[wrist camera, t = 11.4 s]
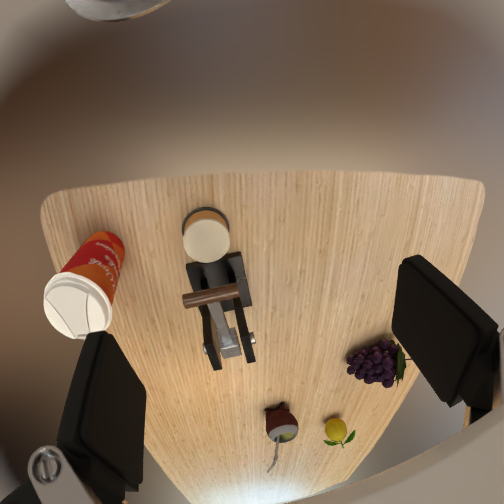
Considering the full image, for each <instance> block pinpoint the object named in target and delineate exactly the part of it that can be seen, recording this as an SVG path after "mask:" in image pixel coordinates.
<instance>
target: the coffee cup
mask: <svg viewBox="0 0 504 504" xmlns="http://www.w3.org/2000/svg"><path fill="white" fill-rule="evenodd" d="M123 259H124V246H123V244H122V242H121V240H120V239H119V238H118V237H117V236H116V235H114V234H113V233H110V232H107V231H100V232H96V233H94V234H93V235H92V236H90V237H89V238H88V240H87V241H86V242H85V243H84V244H83V245H82V246H81V247H80V248H79V250H78V251H77V252H76V253H75V254H74V256H73V257H72V258H71V259H70V260H69V262H68V263H67V264H66V265H65V267H64V268H63V269H62V270H61V272H60V273H59V274H56V275H54V277H53V278H52V279H51V280H50V281H49V282H48V284H47V285H46V287H45V290H44V310H45V313H46V316H47V318H48V320H49V321H50V323H51V324H52V325H53V326H54V327H55V328H56V329H57V330H58V331H59V332H61V333H62V334H64V335H65V336H68V337H70V338H73V339H76V338H79V339H86V336H87V334H88V333H91V332H97V331H102V330H104V331H105V330H106V329H107V328H108V326H109V325H110V323H111V319H112V302H113V298H114V294H115V290H116V286H117V283H118V279H119V275H120V271H121V267H122V263H123Z"/></svg>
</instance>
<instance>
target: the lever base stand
mask: <svg viewBox="0 0 504 504" xmlns="http://www.w3.org/2000/svg"><path fill="white" fill-rule="evenodd" d="M186 270H187V273H188V277H189V280H190V283H191V286H192V289H193V292H197V291H201V290H206V289H210V288H214V287H219V286H223V285H228V284H232V283H237V286H238V290H239V294H240V297H237V298H233V299H229V300H224V301H220V303H221V306H222V309H223V312H226V311H231V310H235V314H236V319H237V324H238V329H239V334H240V338H241V342H242V346H243V349H244V353H245V356H246V360H247V363H252V362H256V360H255V356H254V352H253V348H252V344H255V343H256V342H255V338H254V334H253V332H250V333H249V332H248V327H247V323H246V319H245V315H244V311H243V308H244V307H248V306H252V302H251V298H250V293H249V288H248V284H247V279H246V274H245V270H244V265H243V260H242V255H241V252H237V253H233V254H228V255H224V256H223V257H222V258H220V259H219V260H217V261H214V262H209V263H203V262H199V261H198V262H194V263H189V264H186ZM198 307H199V310H200V313H201V316H202V322H203V337H204V343H203V350H204V353H205V354H208V357H209V359H210V362H211V364H212V367H213V369H214V371H216V370H221V369H222V363H221V356H220V350H219V345H218V340H217V334H216V331H217V327H216V325H215V323H214V320H213V318H212V315H211V313H210V310H209V308H208V306H207V304H206V305H202V306H198Z"/></svg>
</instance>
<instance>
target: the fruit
mask: <svg viewBox="0 0 504 504" xmlns="http://www.w3.org/2000/svg"><path fill="white" fill-rule="evenodd" d="M378 346H379V347H378ZM378 346H375V347H373V348H371V347H365V348H364V350H363V351H361V350H360V349H359V350H356V352H355V353H354V356H352V355H350V356H349V357H348V358H347V364H349V365H351V366H349V367H348V368H347V373H348V374H350V375H351V374H354V373H355V377H356V378H357V379H359V380H360V379H364V382H365V383H367V384H371V383H373V382H382V385H383V386H384V387H385V388H390V387H392V385H393V383H394V381H396V380H397V385H398V383H399V379H400V380H401V378H402V380H403V377H404V369H405V368H406V362H405V361H406V360H412V359H405V354H404V353H403V352H402V347H400V345H399V343H398V344H397V346H396V344H395V342H394V340H393V341H392V340H391V341H388V340H386V339H383V340H381V341H380V342H379V345H378ZM387 350H388V353H387V352H385V351H387ZM356 358H357V359H356ZM355 371H356V372H355ZM395 375H396V380H394V377H395Z"/></svg>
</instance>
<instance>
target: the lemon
mask: <svg viewBox="0 0 504 504" xmlns="http://www.w3.org/2000/svg"><path fill="white" fill-rule="evenodd" d="M325 432H326V434H327V436H328V438H329V439H330V440H332V441H334V442H331V441H326V440H323V441H324V442H325V443H326V444H328V445H331V446H333V445H336V444H342V442H341V441H342V440H343V439H344V438H345V436H346V434H347V428H346V425H345V423H344V421H343V420H341V419H339V418H335V419H333V418H331V419H330V420H329V421H328V422H327V423H326V426H325ZM354 436H355V430H354V431H353V432H352V433H351V434H350V436H349V437H348V438H347V440H346V441H345V443H348V442H350V441H351V440H353V438H354ZM336 442H341V443H336ZM345 443H344V444H345ZM344 444H342V447H343V445H344ZM343 448H344V447H343Z"/></svg>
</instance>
